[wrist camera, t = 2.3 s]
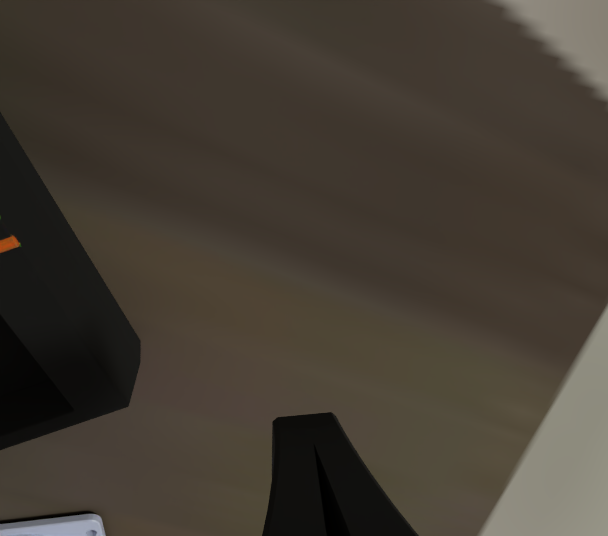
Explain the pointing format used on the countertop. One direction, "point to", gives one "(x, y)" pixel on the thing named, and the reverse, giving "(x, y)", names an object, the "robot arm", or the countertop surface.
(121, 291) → the countertop surface
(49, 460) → the countertop surface
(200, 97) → the countertop surface
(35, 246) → the battery charger
